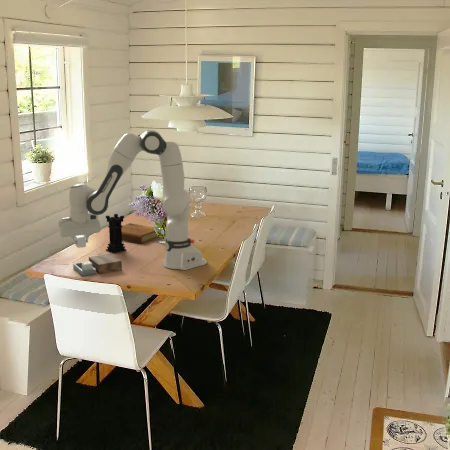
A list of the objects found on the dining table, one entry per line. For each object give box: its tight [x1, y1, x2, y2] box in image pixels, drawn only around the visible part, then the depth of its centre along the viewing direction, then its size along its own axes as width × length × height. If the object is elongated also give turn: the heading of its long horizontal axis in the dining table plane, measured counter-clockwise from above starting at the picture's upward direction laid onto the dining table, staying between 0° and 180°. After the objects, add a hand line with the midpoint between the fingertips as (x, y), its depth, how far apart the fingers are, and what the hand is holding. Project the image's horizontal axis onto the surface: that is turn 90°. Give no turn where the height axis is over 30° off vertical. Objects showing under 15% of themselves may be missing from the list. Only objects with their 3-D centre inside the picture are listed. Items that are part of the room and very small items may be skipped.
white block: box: [74, 234, 87, 248], centre depth 294 cm, size 4×4×5 cm
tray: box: [72, 260, 97, 277], centre depth 294 cm, size 7×14×2 cm, turn 32°
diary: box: [121, 222, 157, 245], centre depth 353 cm, size 23×19×6 cm
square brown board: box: [88, 252, 123, 275], centre depth 299 cm, size 12×14×5 cm
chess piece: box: [105, 213, 127, 255], centre depth 326 cm, size 8×8×20 cm
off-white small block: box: [81, 260, 92, 271], centre depth 291 cm, size 4×4×5 cm
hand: (80, 243), depth 294 cm, fingers closed on white block, 4 cm apart
